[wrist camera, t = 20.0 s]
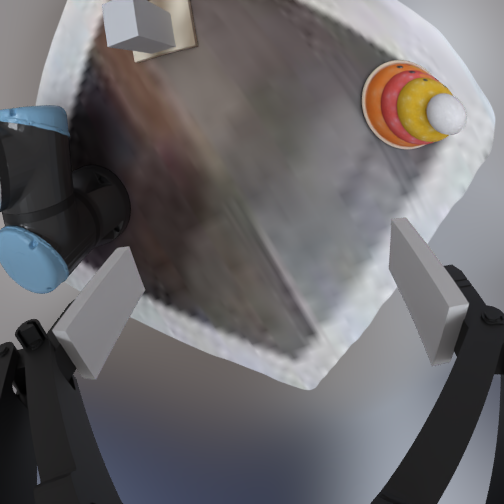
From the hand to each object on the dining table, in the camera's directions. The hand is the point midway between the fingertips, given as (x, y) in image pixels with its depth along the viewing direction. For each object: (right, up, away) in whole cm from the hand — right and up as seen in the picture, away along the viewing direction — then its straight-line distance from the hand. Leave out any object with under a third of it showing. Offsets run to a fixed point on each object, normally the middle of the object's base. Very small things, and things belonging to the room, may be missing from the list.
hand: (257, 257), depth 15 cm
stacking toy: (+23, +23, +27) cm, 43 cm away
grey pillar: (-14, +33, +23) cm, 43 cm away
